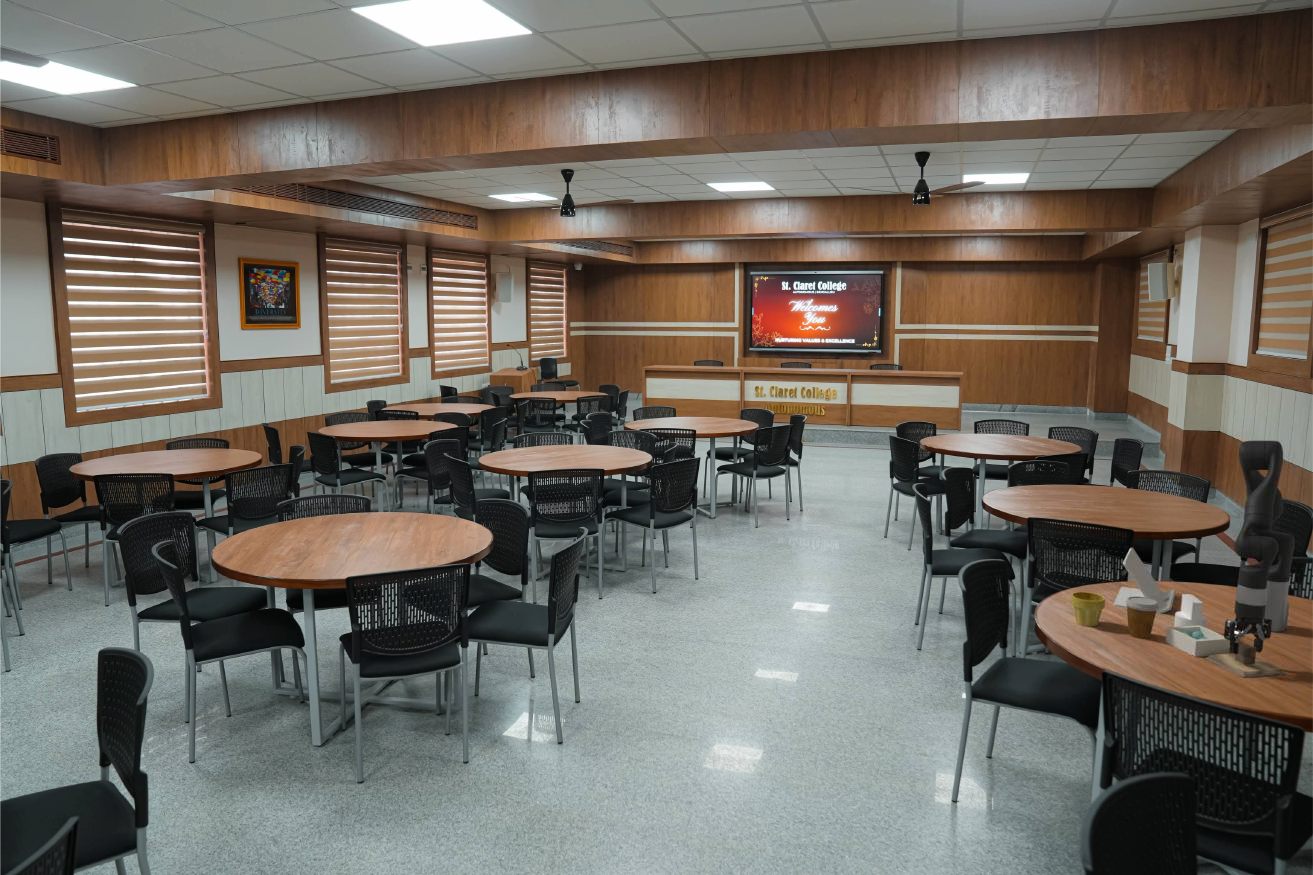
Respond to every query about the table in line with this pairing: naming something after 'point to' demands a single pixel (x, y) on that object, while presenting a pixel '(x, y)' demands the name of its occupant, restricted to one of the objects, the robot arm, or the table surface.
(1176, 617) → the white knob
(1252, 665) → the lid
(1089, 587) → the table surface
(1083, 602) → the plant pot
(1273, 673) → the mat
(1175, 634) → the box
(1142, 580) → the tablet stand
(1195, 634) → the ball
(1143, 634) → the disposable coffee cup
